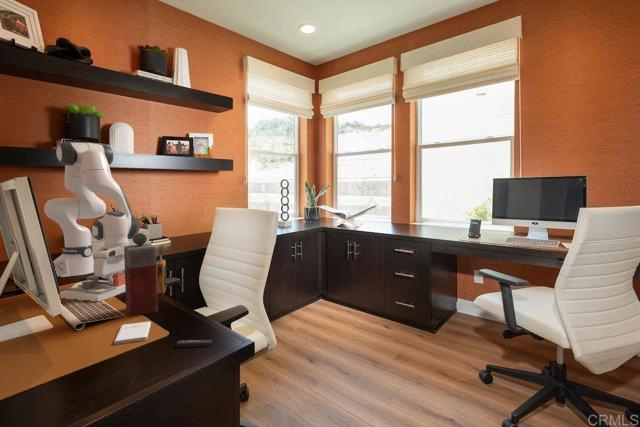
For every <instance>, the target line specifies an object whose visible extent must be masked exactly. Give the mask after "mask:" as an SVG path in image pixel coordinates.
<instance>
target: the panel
mask: <svg viewBox="0 0 640 427" xmlns="http://www.w3.org/2000/svg"><path fill="white" fill-rule="evenodd" d="M123 293H126V290H125V285H122V286H120V287H116V286H109V284H108V280H100V279H99V284H95V287H94V288H91V289H82V284H78V285H77V286H75V287H67V289H65V290H63V291H60V292H59V296H60V297H61V298H60V297H59V298H60V299H63V298H65V299H64V300H73V299H77V300H76V301H84V300H90V301H89V302H95V301H99V302H101V301H100V300H102V301H104V300H106V299H109V298H112V297H114V296H118V295H120V294H123Z"/></svg>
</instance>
